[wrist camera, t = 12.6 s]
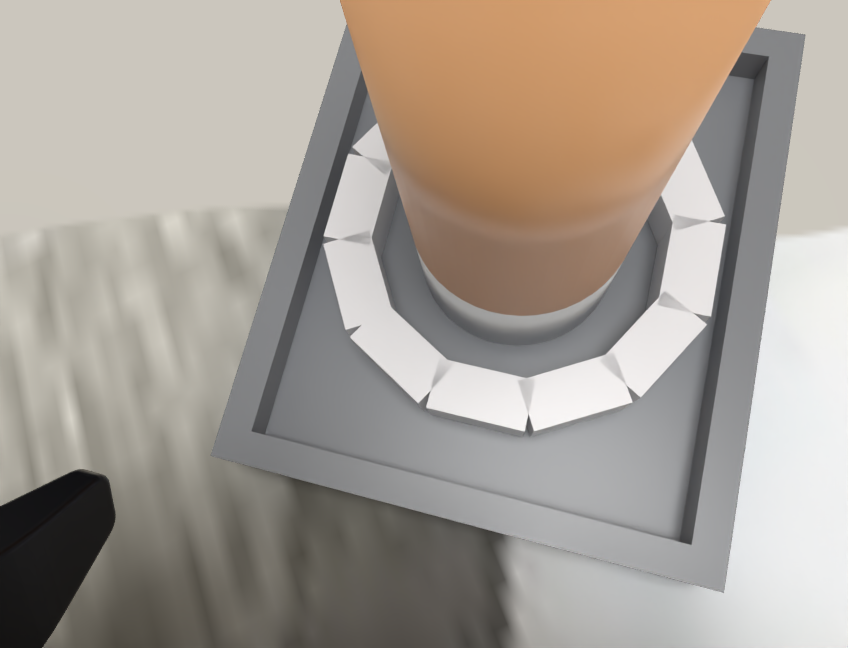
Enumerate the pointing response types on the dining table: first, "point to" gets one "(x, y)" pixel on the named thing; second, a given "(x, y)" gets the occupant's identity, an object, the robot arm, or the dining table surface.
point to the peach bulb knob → (537, 138)
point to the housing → (527, 349)
